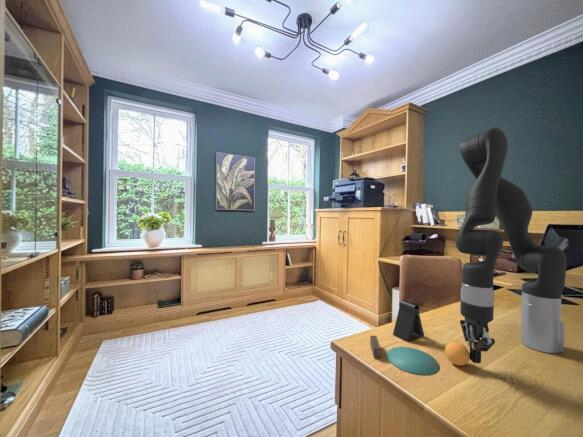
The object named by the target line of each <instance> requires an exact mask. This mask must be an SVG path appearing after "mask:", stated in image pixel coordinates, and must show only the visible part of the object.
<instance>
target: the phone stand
mask: <svg viewBox="0 0 583 437" xmlns="http://www.w3.org/2000/svg"><path fill="white" fill-rule="evenodd" d="M394 324H395V325H394V328H393V332H392V335H393V336H395V337H397V338H399V339H401V340H403V341H405V342H407V343H410V342H413V341H415V340H418V339H421V338H423V337H425V333H424V329H423V324H422V320H421V314H420V305H419V304H416V303H414V302H410V301H408V300H405V299H401V300H400V301H399V303H398V311H397V316H396V321H395V323H394Z"/></svg>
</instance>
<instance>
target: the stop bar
mask: <svg viewBox="0 0 583 437" xmlns="http://www.w3.org/2000/svg"><path fill="white" fill-rule="evenodd" d="M369 338H370V340H369V345H370V348H371V353H372V356H373V359H382V349H381V345H380V342H379V339H378V336H377V335H370V337H369Z"/></svg>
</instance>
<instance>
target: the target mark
mask: <svg viewBox="0 0 583 437" xmlns="http://www.w3.org/2000/svg"><path fill="white" fill-rule="evenodd" d="M386 359H387V360H388V361H389V363H390V364H391V365H393V366H394V367H395V368H397V369H399V370H401V371H404V372H405V373H408V374H414V375H419V376H429V375H433V374H435V373H437V372H438V371H439V369H440V366H439V363H438V361H437V359H436V358H434V356H432V355H430V354H429V353H427V352H425V351H422V350H421V349H418V348H413V347H407V346H395V347H392V348H390V349H388V350H387V351H386Z"/></svg>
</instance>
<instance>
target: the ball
mask: <svg viewBox="0 0 583 437" xmlns="http://www.w3.org/2000/svg"><path fill="white" fill-rule="evenodd" d="M444 353H445V356H446V359H447V360H448V361H449V362H451V364H454V365H456V366H465V365H467V364H468V363H469V362H470V350H468V348H467V347H466V345H464V344H462V343H460V342H458V341H457V342H455V341H451V342H449V343H448V344H446V346H445V349H444Z"/></svg>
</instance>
